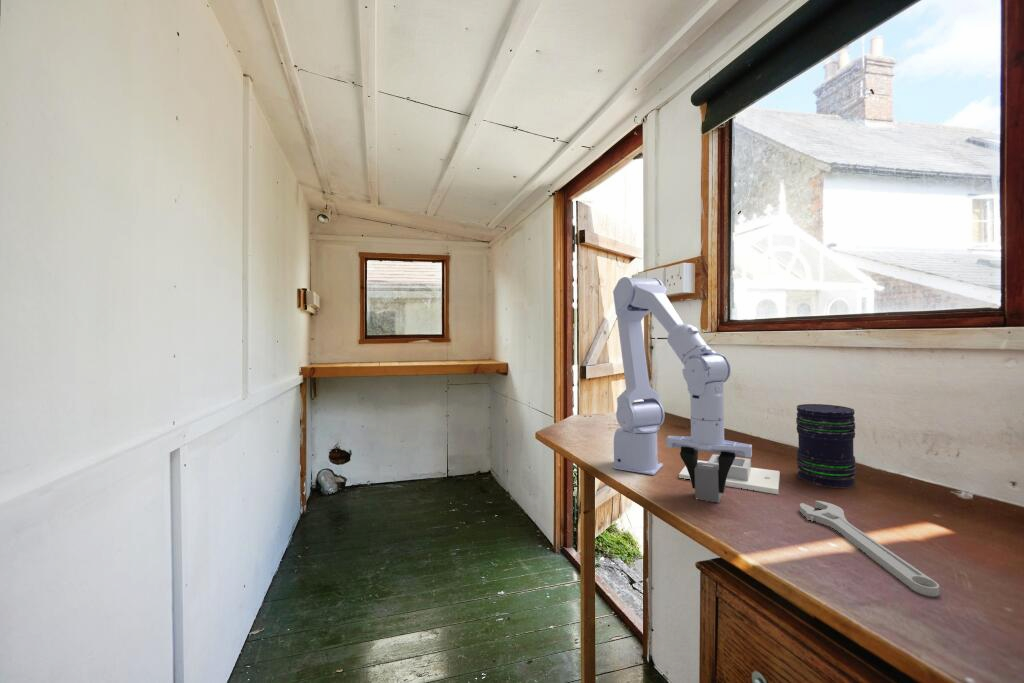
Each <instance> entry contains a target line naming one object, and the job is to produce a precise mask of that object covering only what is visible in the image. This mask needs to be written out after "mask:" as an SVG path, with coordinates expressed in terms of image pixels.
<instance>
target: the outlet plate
mask: <svg viewBox="0 0 1024 683" xmlns="http://www.w3.org/2000/svg"><path fill="white" fill-rule="evenodd" d="M719 455H720V454H716V453H715V454H714V453H713V454H712V455H711V456H710V458H709V460H708V461H705V460H701V459H700V460H699V459H698V462H703V463H710V464H718V465H719V462H718V457H719ZM698 462H697V463H698ZM780 476H781V475H780V470H772V469H767V468H759V467H752V462H751V458H748V457H745V458H744V457H737V456H736V457H735V459H734V461H733V463H732V465H731V467H730V469H729V472H728V475H727V479H726V483H725V487H730V488H737V489H741V488H742V489H743V490H747V489H748V491H753V490H754V491H756V492H760V493H766V494H772V495H779V491H780V490H779V488H780ZM678 478H684V479H683V480H685V479H690V475H689V473H688V470H687V468H686V465H684V467H682V469H681V471H680V472H679V474H678ZM689 481H691V479H690V480H689Z"/></svg>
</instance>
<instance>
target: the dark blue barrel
mask: <svg viewBox="0 0 1024 683" xmlns="http://www.w3.org/2000/svg"><path fill="white" fill-rule="evenodd" d="M796 411H797V412H796V420H795V421H796V433H797V434H798V449H797V453H796V465H797V470H798V471H797V477H798V479H800V480H801V479H802V480H801V481H803V480H804V482H806V483H808V482H809V483H808V484H811V483H813V484H812V485H815V484H816V486H819V485H820V487H825V488H833V489H835V488H836V489H848V488H853V487H855V486H856V480H855V477H856V474H855V473H857V470H856V469H857V466H856V457H855V456H854V439H855V437H856V422H855V420H856V419H855V416H854V415H855V412H856V411H855V409H854V408H852V407H847V406H843V405H835V404H822V403H821V404H820V403H817V404H816V403H805V404H798V405H796Z"/></svg>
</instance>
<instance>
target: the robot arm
mask: <svg viewBox="0 0 1024 683" xmlns="http://www.w3.org/2000/svg"><path fill="white" fill-rule="evenodd" d="M667 289H668V288H667V287H666V286H665V284H663V281H662V280H661V279H659V278H657V277H652V278H649V277H648V278H647V277H643V278H642V277H641V278H640V277H626V276H622V277H621V278H620V279H619V280H618V281H617V283H616V285H615V287H614V288H613V291H612V294H613V301H614V302H613V303H614V310H615V315H616V319H617V320H616V321H617V327H618V336H619V342H620V351H621V359H622V366H623V374H624V383H625V390H623V392H621V394H619V395H618V397H617V398H616V402H617V404H616V405H617V408H616V411H615V415H616V420H617V423H618V425H619V427H618V428H616V430H615V432H614V435H613V466H612V468H613V469H615V470H621V471H627V472H632V473H640V474H645V475H650V476H651V475H652V476H654V475H655V474H657V472H659V471H660V469H662V467H663V465H664V463H662V462H658V431H660V429H661V428H660V427H661V425H663V423H664V422H665V416H666V414H665V409H664V407H663V405H662V403H661V399H660V394H659V393H658V392H657V391H656V390H654V389H653V388H651V386H650V379H649V372H648V364H647V358H646V357H647V356H646V349H645V348H646V347H645V342H644V335H643V326H642V321H643V318H644V317H645V316H647V315H649V314H650V313H651V314H652V315H653V317H654V318H655V319H656V320H657V321H658V322H659V323H660V324H661V326H662V327H663V329H665V331H666V332H667V334H668V335H667V343H668V345H669V346H670V347H671V348H672V349H671V350H673V351H674V353H675V355H676V356H677V358H678V359H679V360H680V362H681V363H682V365H683V366H684V367H683V368H682V369H681V370H682V376H683V378H684V380H685V383H686V384H687V392H688V394H690V395H689V396H690V397H689V398H690V399H689V400H690V436H683V435H681V436H679V435H678V436H677V435H668V436H667V437H666V448H669V449H670V448H671V449H672V448H677V449H680V452H679V455H680V458H681V459H682V461H683V464H684V466H686V468H687V470H688V473H689V475H690V479H691V480H690V482H691V487H692V489H694V490H695V466H696V465H697V462H698V460H699V459H698V458H699V451H702V452H709V453H710V452H711V453H719V454H718V455H719V457H718V462H719V493H722V494H724V493H725V490H726V486H725V483H726V479H727V475H728V472H729V469H730V467H731V465H732V463H733V461H734V459H735V457H737V456H742V457H743V458H744V457H745V458H748V459H751V458H752V456H753V450H752V449H753V445H752V444H749V443H743V442H738V441H733V440H732V441H731V440H726V439H725V412H724V411H725V408H724V407H725V406H724V404H725V403H724V398H725V396H724V383H726V382H727V381H728V379H729V378H730V376H731V364H730V362H729V360H728V359H727V357H726V356H725V355H724V354H722V353H719V352H716V351H715V350H713V349H712V348H711V347H710V345H708V343H707V342H706V341H705V340H704V339H703V337H702V336H701V335H700V333H699V329H698V328H697V327H696V326H693V324H688V323H687V324H684V322H683V320H682V318H681V317H680V316H679V314H678V313H677V311H676V309H675V308H674V306H673V304H672V303H671V301H670V299H669V298H668V297H667V293H668V291H667ZM637 400H641V401H637ZM642 400H643V401H642Z"/></svg>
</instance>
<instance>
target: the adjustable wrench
mask: <svg viewBox="0 0 1024 683" xmlns="http://www.w3.org/2000/svg"><path fill="white" fill-rule="evenodd" d="M814 503H815V504H814V507H813V506H811V505H809V504H806V503H803V502H802V503H799V513H800V512H801V513H802V514H803V515H804V516H806V518H807V519H809V520H811V521H810V522H813V521H817V522H820V523H823V524H825V525H828V526H830V527H832V528H834V529H835V530H837V531H838V532H839V533H841V534H842V535H843V536H844V537H845V538H844V537H843V536H842V535H841V534H840V535H841V536H842V537H843V538H844V539H846V540H847V541H848V540H849V543H851V542H852V543H853V544H852V543H851V544H852V545H854V546H855V545H856V546H857V547H856V546H855V547H856V548H857V549H859V548H860V549H861V550H862V551H861V550H860V549H859V550H860V551H861V552H863V553H864V552H865V553H866V554H865V553H864V554H865V555H866V556H868V557H869V558H871V560H873V561H874V562H876V563H877V564H878V565H880V566H881V567H882V568H884V569H885V570H886V571H887V572H889V573H890V574H892V575H893V576H894V577H895V578H897V579H898V580H899V581H900V582H902V583H903V584H905V585H906V586H907V587H909V588H910V589H911V590H913V591H914V592H916V593H918V594H921V595H923V596H926V597H927V596H928V597H939V596H940V584H939V583H938V582H936V581H935V580H934V579H932V578H931V577H930V576H928V575H927V574H925V573H923V572H922V571H920V570H919V569H917V568H916V567H915V566H913V565H912V564H911V563H909V562H907V561H906V560H904V559H903V558H901V557H900V556H899V555H897V554H895V553H894V552H892V551H891V550H890V549H888V548H886V546H883V544H881V543H879V542H878V541H876V540H875V539H873V538H872V537H870V536H869V535H868V534H866V533H865V532H863V531H862V530H860V529H858V527H856V526H855V525H853V524H851V522H849V521H848V520H847V518H846V517H845V511H844V509H842V507H840V506H838V505H836V504H833V503H830V502H827V501H823V500H814ZM815 507H817V508H819V509H822V510H819V509H817V508H815ZM816 509H817V510H816ZM801 513H800V514H801ZM802 514H801V515H802ZM803 515H802V516H803ZM804 516H803V517H804ZM806 518H805V519H806ZM817 522H816V523H817ZM820 523H819V524H820ZM825 525H824V526H825ZM828 526H827V527H828ZM830 527H829V528H830ZM832 528H831V529H832ZM834 529H833V530H834ZM835 530H834V531H835ZM837 531H836V532H837ZM838 532H837V533H838ZM839 533H838V534H839Z"/></svg>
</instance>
